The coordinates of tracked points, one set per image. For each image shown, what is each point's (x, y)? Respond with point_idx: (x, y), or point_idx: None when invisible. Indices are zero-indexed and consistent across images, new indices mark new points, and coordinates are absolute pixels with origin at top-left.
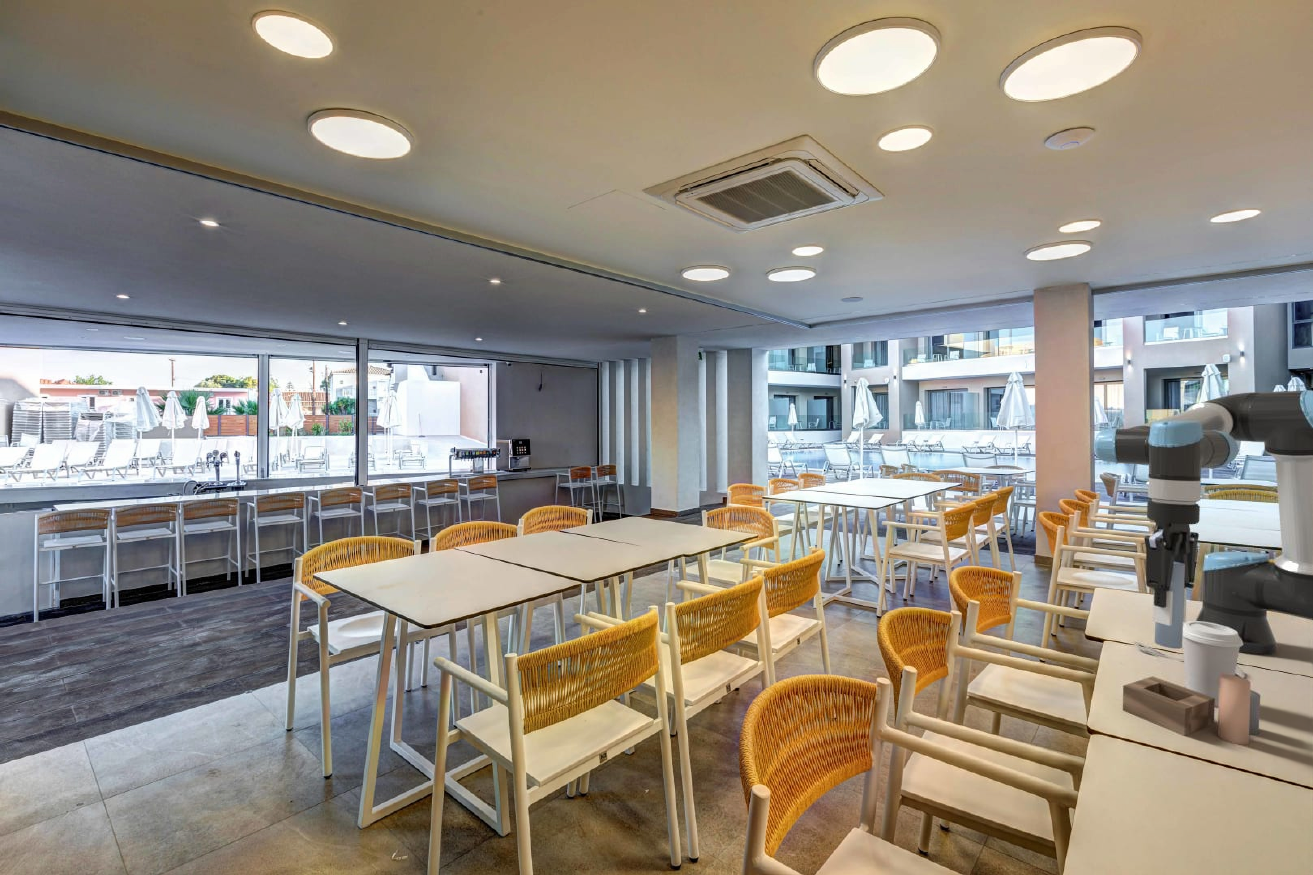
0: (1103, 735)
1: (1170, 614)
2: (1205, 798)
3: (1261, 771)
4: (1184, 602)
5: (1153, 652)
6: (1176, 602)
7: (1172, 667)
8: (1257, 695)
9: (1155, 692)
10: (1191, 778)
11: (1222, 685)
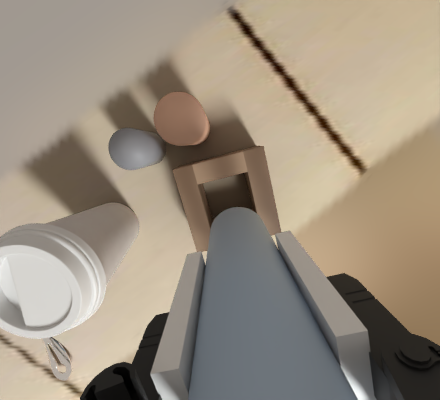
0: (366, 166)
1: (299, 249)
2: (393, 6)
3: (246, 48)
4: (189, 299)
5: (59, 352)
6: (279, 281)
7: None
8: (119, 134)
9: None
10: (360, 51)
11: (205, 126)
